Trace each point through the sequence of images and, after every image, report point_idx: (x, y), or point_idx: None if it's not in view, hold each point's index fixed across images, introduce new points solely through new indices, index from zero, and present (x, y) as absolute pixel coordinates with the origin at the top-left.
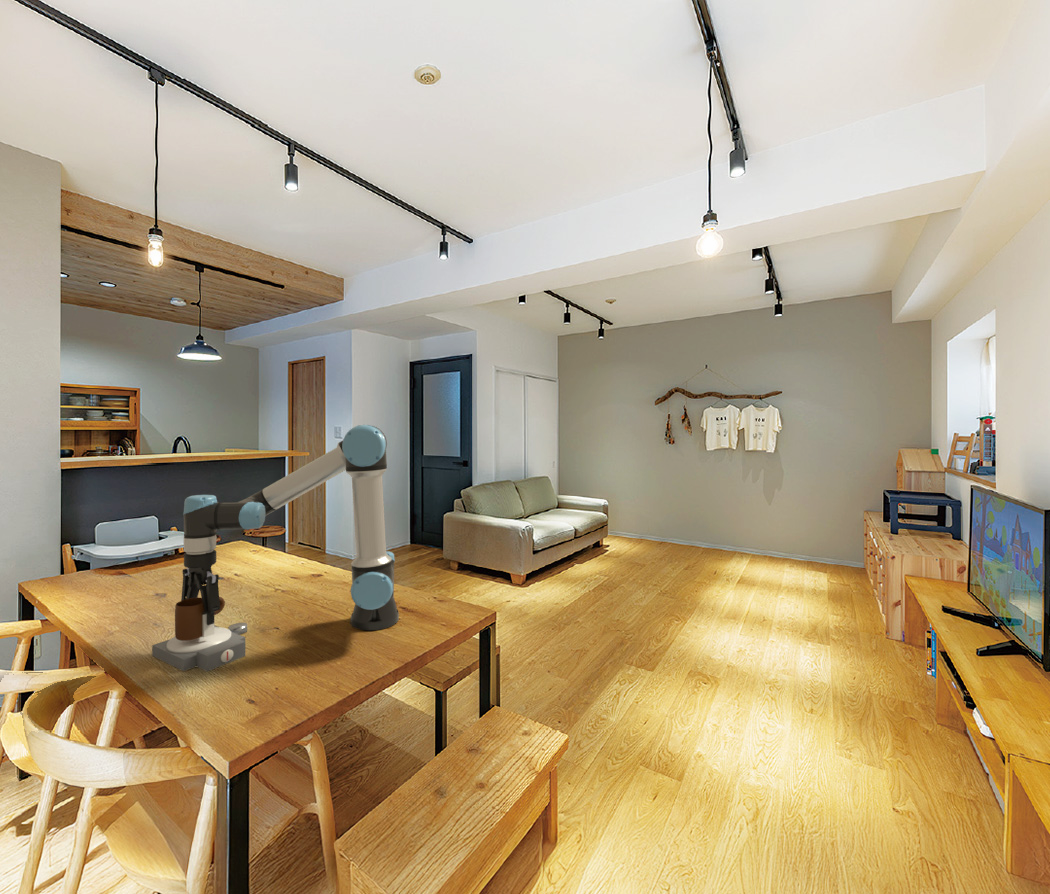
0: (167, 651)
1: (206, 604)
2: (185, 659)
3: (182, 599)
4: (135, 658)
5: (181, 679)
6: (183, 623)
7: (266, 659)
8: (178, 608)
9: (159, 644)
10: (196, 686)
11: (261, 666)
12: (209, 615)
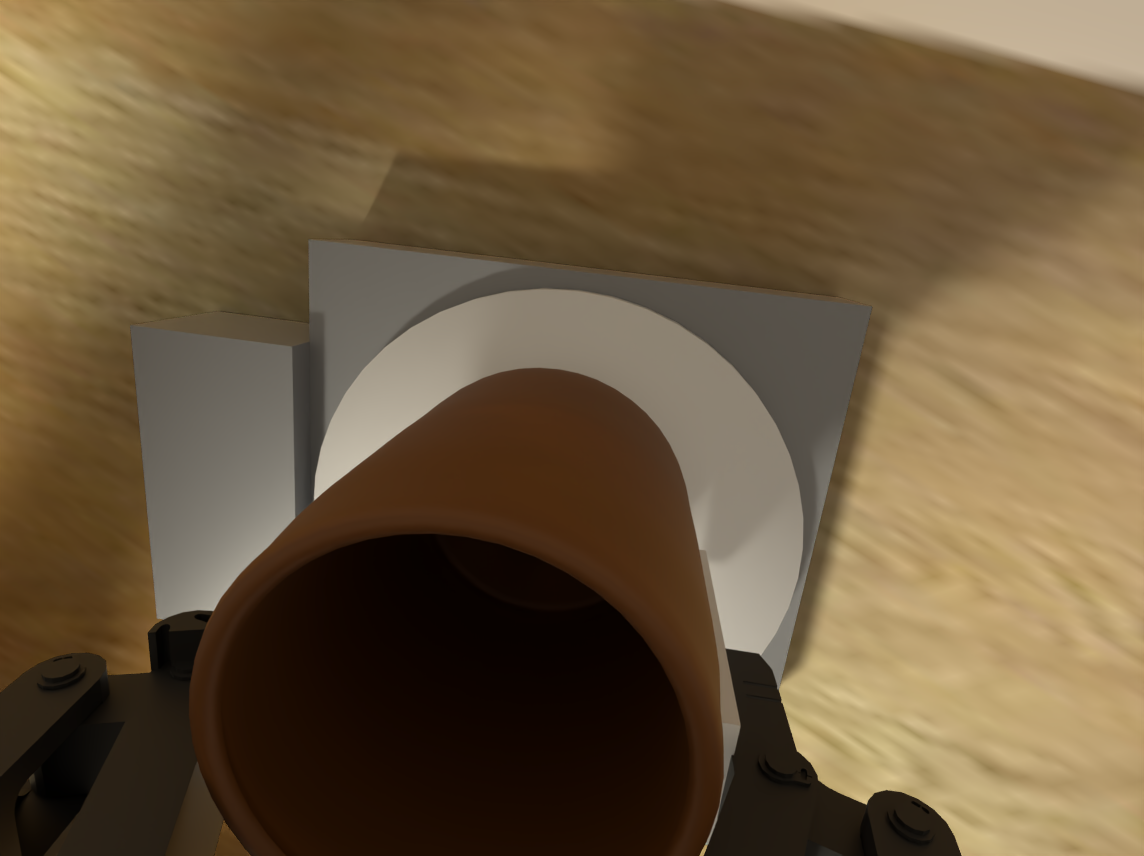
0: (598, 282)
1: (109, 766)
2: (310, 253)
3: (921, 852)
4: (935, 206)
5: (246, 152)
6: (413, 425)
7: (82, 576)
8: (427, 493)
9: (817, 343)
10: (63, 137)
11: (17, 500)
12: None
